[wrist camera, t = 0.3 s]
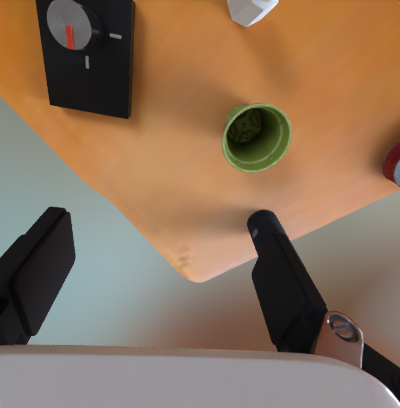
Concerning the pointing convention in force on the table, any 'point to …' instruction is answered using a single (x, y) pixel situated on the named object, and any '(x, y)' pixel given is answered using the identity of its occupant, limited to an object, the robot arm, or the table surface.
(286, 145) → the plant pot
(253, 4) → the pepper shaker
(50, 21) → the hob knob
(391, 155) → the tissue box
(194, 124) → the table surface
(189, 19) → the table surface
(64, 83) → the black knob panel
